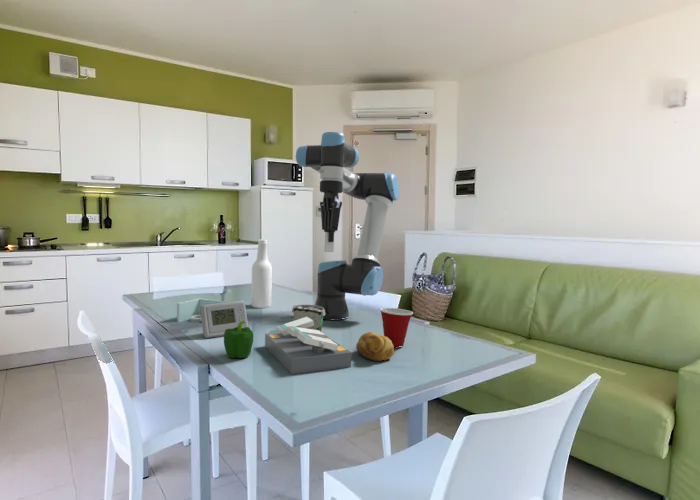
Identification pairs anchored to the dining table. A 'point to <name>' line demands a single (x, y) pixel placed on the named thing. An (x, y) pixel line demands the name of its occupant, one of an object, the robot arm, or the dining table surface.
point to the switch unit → (305, 354)
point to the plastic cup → (395, 324)
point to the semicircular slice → (310, 314)
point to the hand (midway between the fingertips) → (328, 251)
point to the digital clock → (222, 317)
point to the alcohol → (261, 278)
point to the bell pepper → (238, 341)
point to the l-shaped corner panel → (192, 309)
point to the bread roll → (375, 347)
